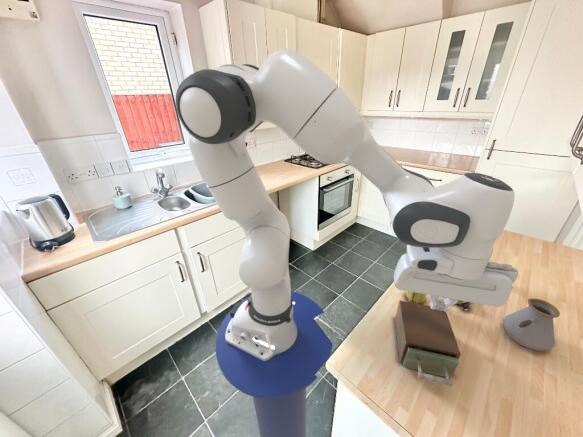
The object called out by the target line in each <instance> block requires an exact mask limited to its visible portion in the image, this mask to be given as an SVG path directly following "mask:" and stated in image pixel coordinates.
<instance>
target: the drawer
mask: <svg viewBox="0 0 583 437" xmlns="http://www.w3.org/2000/svg"><path fill="white" fill-rule="evenodd" d="M414 348H415V346H410V345H409V346H408V349H407V352H406V355H405V358H404V361H403V363H402V367H403V368H407V369H411V370H415V371H417V378H418V379H419V380H423V381H427V382H431V383H434V384H440V385H443V386H447V387H453V381H452V378H453V375H454V373H455V372H456V370H457V368H458V366H459V364H460V361H459V359H458V358H455V357H451V354H447V353H442V352H438V351H436V352H435V353H432V352H428V351H423V350H419V349H414Z"/></svg>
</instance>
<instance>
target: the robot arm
mask: <svg viewBox="0 0 583 437" xmlns="http://www.w3.org/2000/svg"><path fill="white" fill-rule="evenodd" d="M175 108H176V113H177V115H178V118H179V121H180V123H181V124H182V126H183V127H184V129H185V130H186V131H187V133H188V134H189V135H190V136H189V139H188V146H189V149H190V152H191V156H192V159H193V161H194V163H195V165H196V168H197V170H198V172H199V174H200V176H201V178H202V180H203V182H204V184H205V187H206V188H207V189H208V190H209V192H210V194H211V196H212V198H213V199H214V201H215V203H216V204H217V206H218V208H219V210H220V211H221V213H222V215H223V216H224V218H226V219H228V220H230V221H234V222H236V223H237V224H238V226H240V228H241V229H242V230H243V232H244V236H245V240H244V243H243V246H242V247H241V248H242V249H241V251H240V253H239V261H238V263H239V264H238V275H239V277H240V280H241V281H242V283H243V284H244V285H246V286H247V287H248V288H250V295H249V296H248V297H249V298H248V297H247V298H248V300H247V301H245V302H244V303H243V304H242V303H240V302H239V301H238V302H237V303H236V304H235V305H234V306H233V308H232V309H231V310H230V311H231V312H230V311H229V312H230V316H231V318H232V319H231V320H230V322H229V324H228V326H227V329H226V334H225V339H226V342H228V343H230V344H231V345H233V346H235V347H237V348H239V349H241V350H243V351H245V352H247V353H249V354H251V355H253V356H255V357H257V358H259V359H261V360H263V361H267V360H269V359H270V358H272V357H273V356H274V355H276V354H279V353H282V352H284V351H286V350H287V349H289V348H290V347H291V346H292V345H293V344H294V342H295V340H296V338H297V326H296V324H295V322H294V319H293V304H295V302H293V300H292V296H291V291H292V287H291V285H292V284H291V282H292V281H291V275H290V269H289V268H290V267H289V259H290V258H289V256H290V240H291V227H290V224H289V221H288V218H287V217H286V215H285V214H284V213H283V212H282V211H280V209H279V208H278V207H277V205H276V204H275V202H274V201H273V200H272V198H271V197H270V195H269V193H268V191H267V189H266V187H265V185H264V183H263V181H262V179H261V177H260V174H259V172H258V170H257V168H256V166H255V163H254V162H253V159H252V157H251V156H250V153H249V151H248V149H247V145H246V137H247V135H248V133H253V132H254V131H255V130H256V129H257V128H258V127H259V126H260V125H261V124H263V123H264V122H267V123H269V124H272V125H274V126H275V127H277V128H279V130H280V131H282V132H283V133H284V134H285V135H286V136H287V137H288V138H289V139H290V140H291V141H292V142H294V144H295V145H296V146H298V147H299V149H301V150H302V151H303V152H305V153H306V154H307V155H308V156H310V157H312V158H313V159H315V160H316V161H318V162H320V163H321V164H323V165H338V164H343V165H348V166H350V167H352V168H354V169H355V170H357V171H358V172H359V173H360V174H361V175H363V176H364V177H365V178H366V179H367V180H368V181H369V182H370V183H372V185H374V186H375V187H376V188H377V189H378V190H379V191H380V193H381V195H382V198H383V202H384V204H385V207H386V209H387V212H388V215H389V220H390V224H391V227H392V229H393V233H394V235H395V236H396V238H397V239H398V240H399V241H401V242H402V243H403V244H405V245H406V252H405V253H403V254H402V255H401V256H400V258H399V259H398V261H397V263H396V266H395V269H394V272H393V284H394V286H395V288H396V289H397V290H399V291H404V292H406V291H410V292H415V293H421V294H426V296H427V295H428V296H429V298H430V302H429V306H431V309H434V310H440V311H445V312H446V313H447V312H448V309H449V308H450V307H452V306H454V305H457V304H456V303H457V302H458V300H461V301H466V302H470V303H472V304H477V305H484V306H489V307H494V308H501V307H502V306H505V305H506V304H507V303H508V301H509V298H510V295H511V292H512V288H513V284H514V283H515V282H516V280H517V278H518V277H519V270H517V268H516V267H513V265H511V264H508V263H498V262H495V261H494V262H493V261H490V260H491V257H492V255H493V253H494V244H495V243H496V241H497V240H498V239H499V238H500V237H501V236H502V235H503V233H504V230H505V229H506V226H507V224H508V221H509V219H510V216H511V213H512V211H513V208H514V204H515V196H516V195H515V191H514V189H513V187H512V186H510V185H509V184H508V183H506V182H505V181H502V180H501V179H500V178H496V177H494V176H491V175H488V174H484V173H479V172H465V173H462V174H461V175H460V176H459V177H457V178H455V179H453V180H451V181H449V182H447V183H443V184H441V185H438V186H434V185H433V183H432V181H431V180H430V178H428V177H427V176H425V175H423V174H421V173H418V172H415V171H412V170H409V169H407V168H405V167H403V166H402V165H401V164H399V163H398V162H397V161H396V159H394V157H393V156H391V155H390V153H388V152H387V151H386V150H385V149H384V148H383V147H382V146H381V145H380V144H379V143H378V142H377V140H376V139H375V138H374V136H373V134H372V132H371V130H370V128H369V126H368V123H367V121H366V120H365V118H364V116H363V115H362V113H361V112H360V110H359V108H358V107H357V106H356V103H354V102H353V100H352V99H351V98H350V97H349V96H348V94H347V93H346V92H345V91H344V90H343V88H341V86H339V84H337V82H335V81H334V80H333V78H332V77H330V76H329V75H328V74H326V73H325V72H324V71H323V70H322V69H321V68H319V67H318V66H317V65H316V64H315V63H313V62H312V61H311V60H309V59H308V58H307V57H305V56H304V55H302V54H300V53H299V52H297V51H296V50H294V49H291V48H281V49H278V50H276V51H274V52H272V53H271V54H270V55H269V56H267V57H266V58H265V60H264V61H263V62H262V63H261V65H260V67H259V66H256V65H254V64H253V65H252V64H250V63H245V64H237V63H235V64H233V63H231V64H230V63H229V64H227V63H226V64H223V65H220V66H218V67H217V66H216V67H212V68H210V69H209V68H205V69H201V70H198V71H195V72H193V73H191V74H189V75H188V76H187V77H185V78H184V79H183V80H182V81H181V82H180V84H179V85H178V87H177V90H176V94H175ZM440 298H444V299H440ZM228 332H230V333H228ZM261 354H263V355H261Z"/></svg>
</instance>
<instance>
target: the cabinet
mask: <svg viewBox="0 0 583 437" xmlns="http://www.w3.org/2000/svg"><path fill="white" fill-rule="evenodd" d="M396 309H397V310H396V313H395V317H394V323H395V324H394V325H395V332H396V333H395V334H396V341H397V349H398V360H399V363H402V364H403V361H404V358H405V355H406V352H407V349H408V346H409V345H410V346H415V347H419V348H424V349H428V350H433V351H438V352H442V353H447V354H451V357H455V358H458V360H460V357H461V356H462V353H461V351H460V348H459V345H458V342H457V339H456V336H455V333H454V330H453V327H452V325H451V321H450V319H449V316H448V313H447V312H445V311H440V310H434V309H431V306H430V305H428V304H417V303H411V302H409V301H404V300H399V302H398V306H397V308H396Z"/></svg>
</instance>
